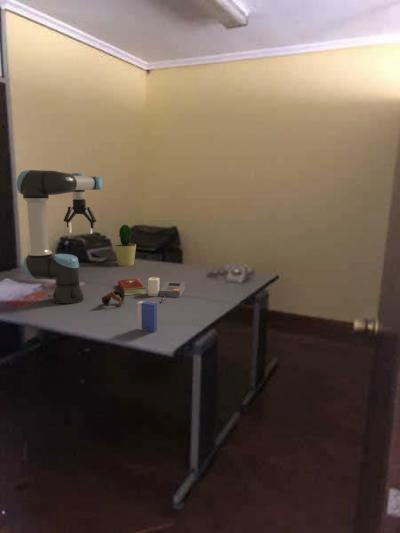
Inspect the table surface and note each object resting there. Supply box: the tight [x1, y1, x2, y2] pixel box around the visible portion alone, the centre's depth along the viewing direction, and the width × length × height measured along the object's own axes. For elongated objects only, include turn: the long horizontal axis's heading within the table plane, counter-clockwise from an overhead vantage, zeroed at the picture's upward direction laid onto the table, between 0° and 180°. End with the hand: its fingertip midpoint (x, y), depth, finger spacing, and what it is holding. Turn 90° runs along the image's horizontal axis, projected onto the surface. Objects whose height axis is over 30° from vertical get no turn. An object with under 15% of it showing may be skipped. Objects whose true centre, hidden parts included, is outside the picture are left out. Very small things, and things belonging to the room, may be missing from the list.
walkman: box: [136, 300, 158, 333], centre depth 162 cm, size 8×3×12 cm, turn 68°
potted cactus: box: [114, 224, 137, 267], centre depth 286 cm, size 15×15×30 cm
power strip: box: [159, 281, 186, 304], centre depth 214 cm, size 32×11×4 cm, turn 174°
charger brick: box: [147, 277, 161, 297], centre depth 213 cm, size 5×5×9 cm
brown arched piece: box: [101, 290, 125, 307], centre depth 193 cm, size 12×10×8 cm
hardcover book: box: [117, 278, 147, 296], centre depth 223 cm, size 12×21×4 cm, turn 20°
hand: (80, 233), depth 245 cm, fingers open, 13 cm apart
